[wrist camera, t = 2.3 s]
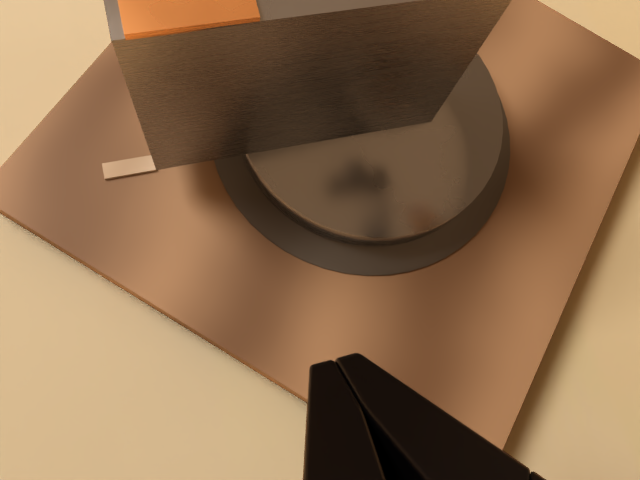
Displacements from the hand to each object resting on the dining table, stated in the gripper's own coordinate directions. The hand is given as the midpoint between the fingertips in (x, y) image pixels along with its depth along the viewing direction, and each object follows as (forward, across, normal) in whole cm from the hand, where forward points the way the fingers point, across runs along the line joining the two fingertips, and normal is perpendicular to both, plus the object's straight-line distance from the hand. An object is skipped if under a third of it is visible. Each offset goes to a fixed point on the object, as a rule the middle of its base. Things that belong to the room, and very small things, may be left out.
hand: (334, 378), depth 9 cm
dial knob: (+13, -4, +1) cm, 14 cm away
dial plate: (+15, -6, +2) cm, 16 cm away
